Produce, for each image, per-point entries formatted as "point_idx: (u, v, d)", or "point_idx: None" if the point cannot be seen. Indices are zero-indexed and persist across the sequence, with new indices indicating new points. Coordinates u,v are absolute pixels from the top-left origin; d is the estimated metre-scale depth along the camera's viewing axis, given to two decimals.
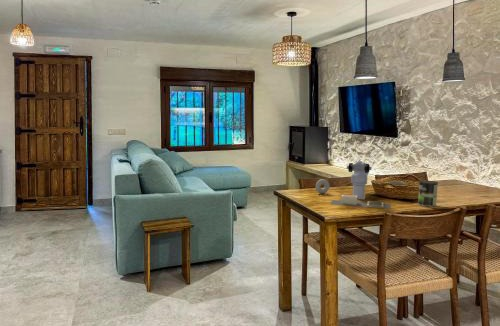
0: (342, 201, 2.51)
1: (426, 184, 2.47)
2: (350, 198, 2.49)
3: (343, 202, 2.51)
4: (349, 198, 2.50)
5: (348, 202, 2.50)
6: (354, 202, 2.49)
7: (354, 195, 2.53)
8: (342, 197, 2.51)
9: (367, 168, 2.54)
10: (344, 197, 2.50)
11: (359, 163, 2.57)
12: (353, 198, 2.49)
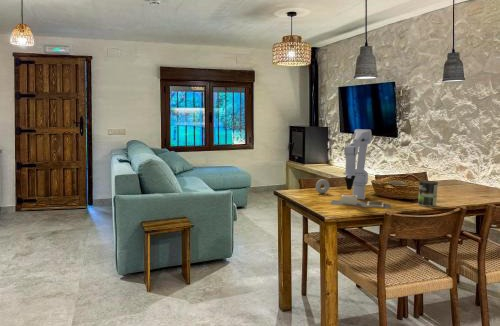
0: (342, 201, 2.51)
1: (426, 184, 2.47)
2: (350, 198, 2.49)
3: (343, 202, 2.51)
4: (349, 198, 2.50)
5: (348, 202, 2.50)
6: (354, 202, 2.49)
7: (354, 195, 2.53)
8: (342, 197, 2.51)
9: (349, 179, 2.46)
10: (344, 197, 2.50)
11: None
12: (353, 198, 2.49)
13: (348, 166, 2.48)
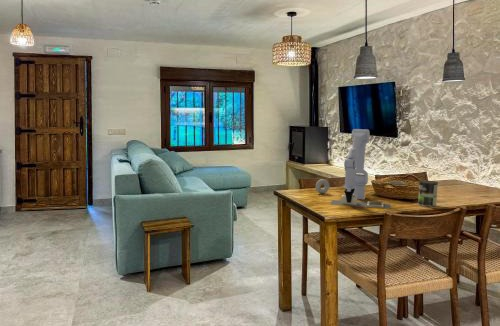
0: (342, 201, 2.51)
1: (426, 184, 2.47)
2: None
3: (343, 202, 2.51)
4: None
5: None
6: (354, 202, 2.49)
7: (354, 195, 2.53)
8: (342, 197, 2.51)
9: None
10: (344, 197, 2.50)
11: None
12: (353, 198, 2.49)
13: (347, 179, 2.49)
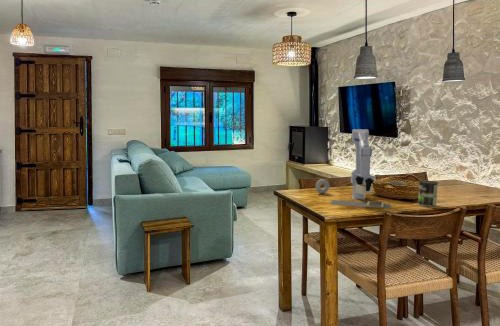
0: (362, 191, 2.45)
1: (426, 184, 2.47)
2: None
3: (363, 192, 2.45)
4: None
5: (366, 191, 2.47)
6: (370, 190, 2.49)
7: None
8: (362, 187, 2.45)
9: None
10: (364, 187, 2.45)
11: None
12: (370, 187, 2.48)
13: (367, 168, 2.45)
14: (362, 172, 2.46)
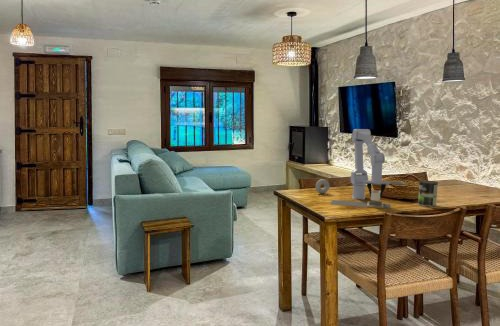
0: (379, 198, 2.43)
1: (426, 184, 2.47)
2: (380, 193, 2.47)
3: (379, 199, 2.44)
4: (380, 193, 2.47)
5: None
6: None
7: (372, 190, 2.50)
8: None
9: None
10: (380, 193, 2.44)
11: None
12: (380, 192, 2.49)
13: (381, 174, 2.44)
14: (377, 179, 2.44)
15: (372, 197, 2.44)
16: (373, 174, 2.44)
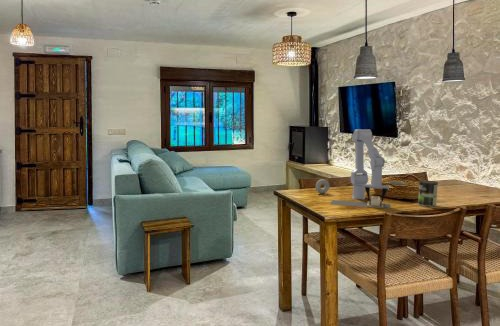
0: (379, 204, 2.44)
1: (426, 184, 2.47)
2: None
3: (379, 205, 2.44)
4: None
5: None
6: None
7: (371, 196, 2.51)
8: None
9: None
10: None
11: None
12: None
13: (381, 178, 2.44)
14: (377, 183, 2.44)
15: (372, 203, 2.44)
16: (373, 178, 2.45)
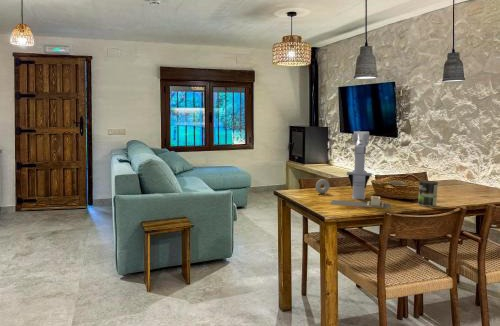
0: (379, 204, 2.44)
1: (426, 184, 2.47)
2: None
3: (379, 205, 2.44)
4: None
5: None
6: None
7: (371, 196, 2.51)
8: None
9: None
10: None
11: None
12: None
13: (363, 165, 2.52)
14: (360, 170, 2.51)
15: (372, 203, 2.44)
16: (356, 165, 2.52)
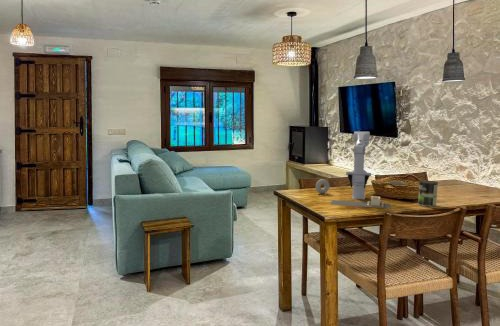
0: (379, 204, 2.44)
1: (426, 184, 2.47)
2: None
3: (379, 205, 2.44)
4: None
5: None
6: None
7: (371, 196, 2.51)
8: None
9: None
10: None
11: (358, 174, 2.52)
12: None
13: (363, 165, 2.52)
14: (359, 170, 2.51)
15: (372, 203, 2.44)
16: (355, 165, 2.52)
